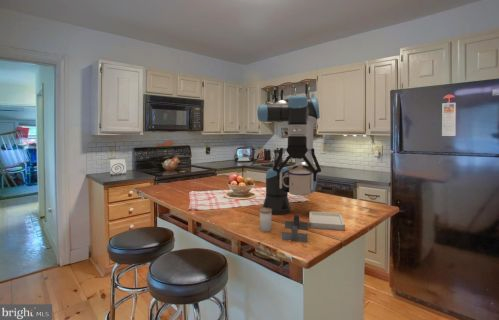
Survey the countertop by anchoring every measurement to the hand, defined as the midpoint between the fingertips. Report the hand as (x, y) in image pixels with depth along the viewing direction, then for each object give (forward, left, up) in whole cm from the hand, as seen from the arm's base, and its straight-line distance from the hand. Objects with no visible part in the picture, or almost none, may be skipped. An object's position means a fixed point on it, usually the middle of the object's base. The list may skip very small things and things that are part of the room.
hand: (296, 188), depth 114 cm
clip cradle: (0, 0, -19) cm, 19 cm away
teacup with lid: (0, 0, -2) cm, 2 cm away
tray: (+13, +18, -19) cm, 29 cm away
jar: (-13, +3, -19) cm, 23 cm away
